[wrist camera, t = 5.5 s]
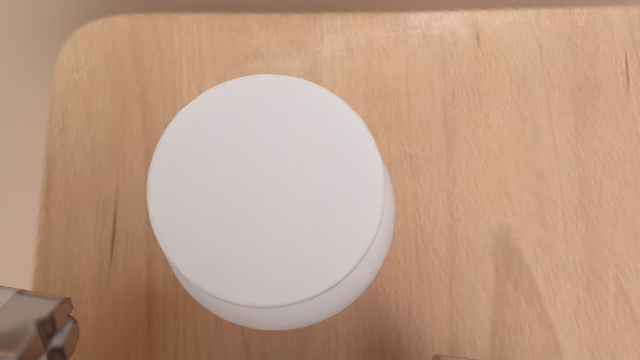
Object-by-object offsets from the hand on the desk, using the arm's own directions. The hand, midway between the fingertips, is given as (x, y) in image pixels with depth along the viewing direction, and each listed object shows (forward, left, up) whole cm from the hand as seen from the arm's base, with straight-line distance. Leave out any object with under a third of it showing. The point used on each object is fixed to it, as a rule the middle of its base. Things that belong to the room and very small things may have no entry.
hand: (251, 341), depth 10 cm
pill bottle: (0, +3, -9) cm, 10 cm away
